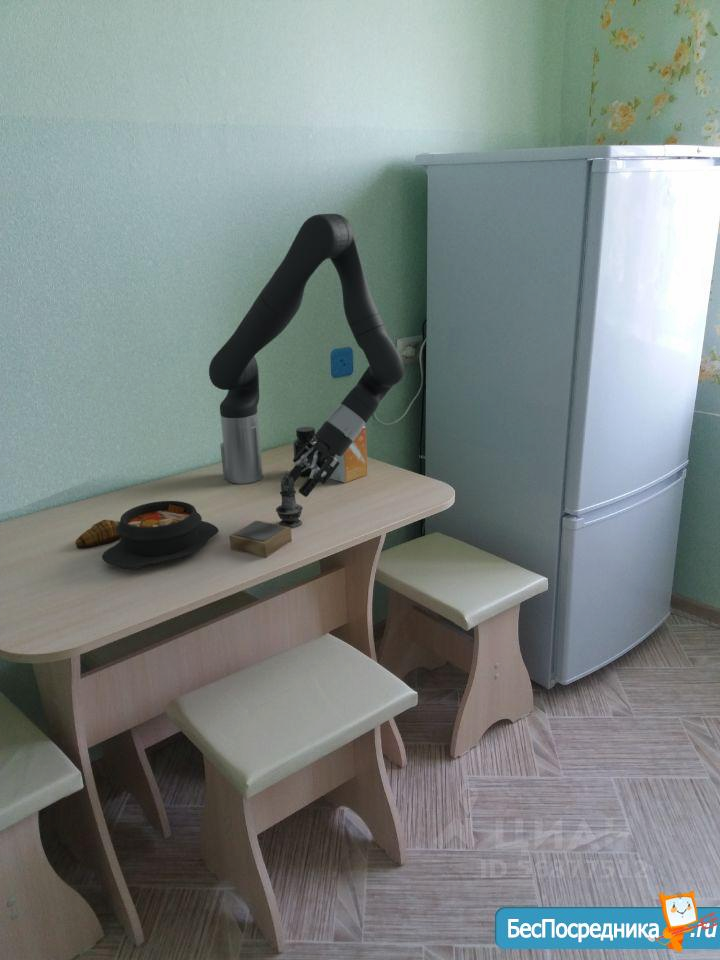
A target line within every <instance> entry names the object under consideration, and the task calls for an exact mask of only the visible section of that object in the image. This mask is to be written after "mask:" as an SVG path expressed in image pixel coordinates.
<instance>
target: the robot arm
mask: <svg viewBox="0 0 720 960" xmlns="http://www.w3.org/2000/svg"><path fill="white" fill-rule="evenodd" d="M353 230H354V229H353V228H352V224H351V223H350V222H349V220H348V219H347V218H346V217H345V216H343V215H342V214H338V213H318V214H314V215H311V216H309V217H308V218H307V219H306V220H305V221H304V222H303V223H302V225H301V226H300V228H299V230H298V232H297V233H296V236H295V238H294V239H293V241H292V243H291V245H290V247H289V249H288V251H287V253H286V255H285V257H284V258H283V260H282V261H281V262H280V264H279V266H278V267H277V268H276V269H275V271H274V273H273V274H272V275H271V278H270V279H269V280H268V282H267V283H266V284H265V286H263V288H262V289H261V291H260V293H259V294H258V296H257V297H256V299H255V300H254V302H253V304H252V305H251V307H250V308H249V310H248V311H247V313H246V314H245V316H244V317H243V318H242V320H241V322H240V323H239V325H238V326H237V328H236V329H235V331H234V333H233V334H232V335H231V336H230V337H229V338H228V340H227V341H226V342H225V343H224V344H223V346H221V348H220V349H219V350H218V351H217V353H215V354H214V356H213V357H212V358H211V360H210V363H209V367H208V376H209V380H210V382H211V384H212V385H213V386H214V387H215V388H218V389H220V390H222V391H225V390H226V391H228V392H227V394H226V396H225V398H224V399H223V400H222V401H221V402H220V405H219V412H220V421H221V422H220V425H221V433H222V442H221V443H220V446H219V447H220V456H221V463H222V472H223V473H222V474H223V475H222V476H223V480H226V481H227V482H229V483H231V484H239V485H240V484H241V485H242V484H250V483H255V482H259V481H260V480H261V479H263V463H262V462H263V461H262V451H261V450H262V449H261V438H260V427H259V425H260V424H259V415H258V414H259V413H258V405H259V401H260V377H259V374H260V373H259V365H258V363H257V359H256V357H255V356H256V354H257V353H258V352H260V351H261V350H262V349H263V348H265V347H266V346H267V345H268V344H270V343H271V342H272V341H273V340H274V339H276V338H277V337H278V336H279V335H280V334H282V332H283V331H285V329H286V328H287V326H288V325H289V324H290V323H291V321H292V320H293V319H294V317H295V316H296V314H297V313H298V311H299V309H300V308H301V305H302V303H303V297H304V295H305V289H306V285H307V283H308V281H309V279H310V278H311V277H312V275H313V274H314V273H315V271H316V270H317V269H318V268H319V267H320V265H322V263H324V261H326V260H328V259H330V261H331V262H332V264H333V266H334V268H335V270H336V272H337V274H338V277H339V281H340V285H341V292H342V301H343V303H342V304H343V311H344V314H345V318H346V320H347V321H346V322H347V323H348V326H349V328H350V331H351V333H352V335H353V338H354V340H355V343H356V344H357V346H358V347H359V348H360V349H361V350H362V351H363V353H364V355H365V357H366V359H367V362H368V365H369V366H368V367H367V368H366V370H365V371H364V372H363V374H362V376H361V377H360V378H359V380H358V382H357V383H356V385H355V386H354V387H353V388H352V389H350V391H349V392H348V393H347V395H346V396H345V397H344V398H343V400H342V401H341V402H340V404H339V405H338V406H337V407H336V408H335V409H334V410H333V411H332V412H331V414H330V415H329V416H328V417H327V419H325V421H324V423H323V424H322V425H321V427H320V428H318V430H317V432H315V433H316V434H315V438H316V439H317V440H318V441H317V442H316V443H315V444H313V443H312V442H311V441H308V442H307V443H306V444H305V445H304V447H303V448H302V449H301V450H300V451H299V453H298V454H297V455H296V456H295V458H294V457H293V459H292V462H293V463H294V464H293V468H292V469H291V470H290V472H289V473H288V476H291V477H292V478H293V480H294V484H296V482H297V480H298V479H299V478H300V475H301V474H302V472H303V471H305V470H306V469H308V468H311V470H312V471H311V474H310V477H307V479H306V480H305V482H303V484H302V485H301V487H299V490H298V493H299V494H300V495H302V496H303V497H305V498H307V497H308V496H309V495H310V494H311V492H312V491H313V490H314V488H315V487H316V486H317V485H320V484H322V485H325V484H326V483H327V482H328V481H329V479H331V478H330V476H331V475H332V473H333V472H334V471H335V469H336V468H337V467H338V465H339V464H340V462H339V461H338V460H337V459H336V458H335V455H338V456H342V455H343V454H344V453H345V451H346V450H347V449H348V448H349V446H350V445H351V444H352V442H353V441H354V440H355V439H356V437H357V436H358V435H359V433H360V432H361V430H362V428H363V427H365V425H366V423H368V422H369V420H370V419H371V417H372V416H373V414H374V413H375V412H376V411H377V409H378V407H379V404H380V403H381V401H382V400H383V398H385V396H386V395H387V394H388V392H389V391H390V390H391V389H392V387H393V386H395V385H397V384H398V383H400V382H401V380H402V379H403V377H404V374H405V368H404V366H405V365H404V362H403V360H402V357H401V355H400V353H399V351H398V350H397V347H396V346H395V345H394V343H393V341H392V339H391V338H390V336H389V334H388V333H387V330H386V327H385V325H384V324H385V323H384V322H383V319H382V317H381V315H380V312H379V310H378V307H377V305H376V304H375V301H374V298H373V296H372V293H371V291H370V287H369V283H368V281H367V277H366V273H365V269H364V266H363V263H362V259H361V257H360V253H359V248H358V244H357V240H356V237H355V236H356V235H355V233H354V231H353ZM300 457H301V459H299V458H300ZM304 464H305V465H304ZM303 465H304V466H303ZM329 467H330V468H329ZM316 473H317V474H316Z"/></svg>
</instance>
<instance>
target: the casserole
mask: <svg viewBox="0 0 720 960" xmlns="http://www.w3.org/2000/svg"><path fill="white" fill-rule="evenodd" d="M202 518H203V517H202V516H201V514H200V513H199V512H198V511H197V509H196V507H195V506H194V505H193V504H191V503H188V502H185V501H181V500H180V501H178V500H161V501H160V500H159V501H152V502H149V503H144V504H140V505H137V506H135V507H132V508H130V509H128V510H126V511H125V512H124V513H123V514H122V515H121V517H120V523H119V525H118V526H117V529H116V530H117V533H118V534H119V535H121V536H122V538H121V539H120V540H118V542H117V543H116V544H115V545H113V546H112V547H110V548H108V549H107V550H105V551H104V552H103V553H102V555H101V558H102V560H103V562H104V563H106V564H108V565H109V566H113V567H115V568H121V569H138V568H144V567H147V566H151V565H155V564H158V563H163V562H170V561H175V560H178V559H182V558H184V557H186V556H190V555H192V554H194V553H196V552H197V551H199V550H200V549H202V548H203V547H204V546H205V545H206V544H207V543H208V541H210V540H211V539H212V538H213V537H214V536H216V535H217V534H219V528H218V527H217V526H216V525H214V524H212V523H210V522H207V521H203V519H202Z"/></svg>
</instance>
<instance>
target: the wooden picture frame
mask: <svg viewBox="0 0 720 960" xmlns="http://www.w3.org/2000/svg"><path fill="white" fill-rule="evenodd" d="M228 537H229V545H230V546H229V547H230V550H232V551H236V552H240V553H244V554H249V555H253V556H257V557H258V556H259V557H262V558H268V557H270V556H271V555H272V554H274V553H275V552H277V551H278V550H280V549H281V548H283V547H284V546H286V545H288V543H291V542H292V541H293V540H292V539H293V538H292V528H291V527H286V526H281V525H278V524H275V523H270V522H265V521H260V520H255V521H253V522H251V523H249V524H248V525H246V526H244V527H242V528H241V529H239V530H237V531H235V532H234V533H232V534H230V535H229V536H228Z"/></svg>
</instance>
